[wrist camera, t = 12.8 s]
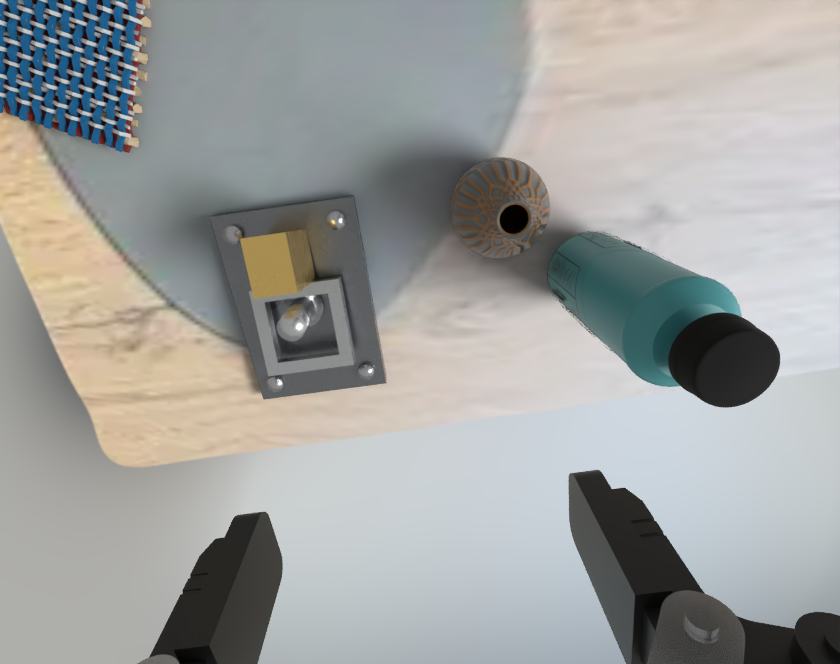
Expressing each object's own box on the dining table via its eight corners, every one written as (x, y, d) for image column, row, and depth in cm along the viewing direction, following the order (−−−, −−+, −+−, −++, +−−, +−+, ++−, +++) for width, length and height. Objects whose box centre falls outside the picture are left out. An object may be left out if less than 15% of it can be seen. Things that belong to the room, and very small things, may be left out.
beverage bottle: (524, 277, 39) (632, 397, 21) (574, 208, 37) (744, 272, 19) (583, 316, 41) (734, 460, 22) (635, 252, 39) (848, 351, 20)
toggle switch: (214, 215, 37) (180, 228, 31) (353, 195, 36) (344, 204, 31) (266, 393, 42) (245, 431, 37) (386, 377, 42) (383, 413, 37)
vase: (442, 161, 36) (453, 166, 28) (533, 151, 36) (571, 153, 27) (450, 251, 38) (462, 280, 30) (534, 241, 38) (570, 267, 30)
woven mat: (161, -4, 32) (145, -14, 30) (143, 155, 35) (129, 156, 33) (-6, -66, 30) (-34, -81, 28) (-6, 107, 34) (-31, 105, 32)
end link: (242, 238, 36) (209, 243, 30) (331, 225, 36) (315, 227, 30) (272, 371, 39) (247, 399, 33) (355, 360, 39) (345, 386, 33)
